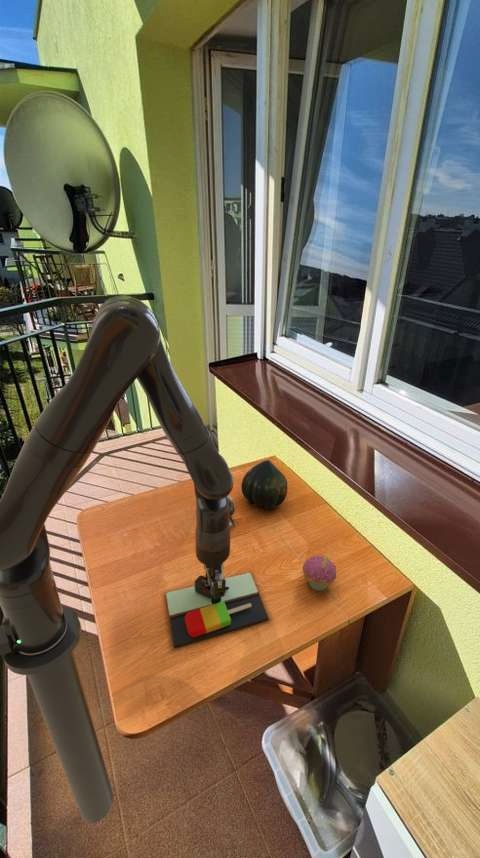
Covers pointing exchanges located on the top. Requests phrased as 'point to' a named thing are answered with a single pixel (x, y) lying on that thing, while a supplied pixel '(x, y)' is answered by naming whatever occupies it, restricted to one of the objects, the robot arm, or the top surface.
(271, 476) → the squash
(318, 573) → the cupcake
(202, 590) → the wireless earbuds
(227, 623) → the popsicle
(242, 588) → the sorting mat
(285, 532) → the top surface
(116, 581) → the top surface
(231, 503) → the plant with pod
